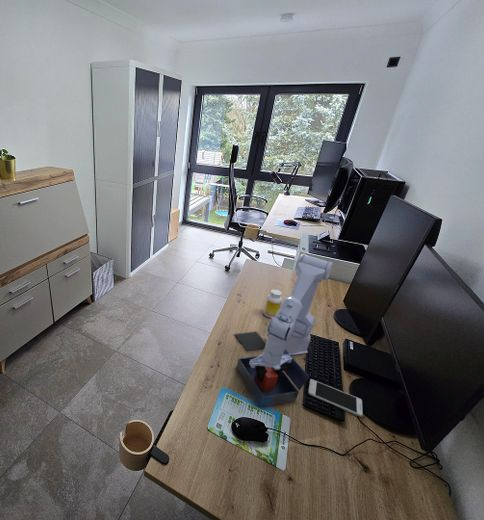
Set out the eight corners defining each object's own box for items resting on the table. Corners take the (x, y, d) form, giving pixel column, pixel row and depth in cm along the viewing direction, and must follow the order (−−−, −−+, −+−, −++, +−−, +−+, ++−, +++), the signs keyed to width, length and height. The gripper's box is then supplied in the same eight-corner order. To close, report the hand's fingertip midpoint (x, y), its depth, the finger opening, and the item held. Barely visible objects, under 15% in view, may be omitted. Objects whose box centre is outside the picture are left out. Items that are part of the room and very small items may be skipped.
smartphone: (309, 380, 105) (310, 378, 105) (360, 401, 98) (362, 399, 97) (307, 394, 100) (308, 392, 99) (361, 417, 92) (362, 415, 92)
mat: (255, 332, 128) (256, 331, 128) (268, 348, 119) (268, 347, 119) (234, 335, 126) (235, 334, 126) (246, 351, 118) (246, 350, 117)
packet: (264, 376, 106) (268, 362, 103) (273, 390, 101) (278, 376, 98) (254, 378, 106) (258, 364, 102) (263, 391, 100) (267, 377, 97)
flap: (269, 353, 109) (270, 353, 109) (299, 390, 94) (299, 390, 94) (277, 340, 106) (278, 340, 107) (308, 376, 92) (309, 376, 92)
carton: (266, 364, 112) (269, 354, 109) (294, 402, 97) (298, 391, 95) (236, 368, 110) (238, 358, 107) (259, 408, 95) (263, 397, 93)
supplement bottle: (279, 319, 136) (285, 297, 131) (264, 317, 138) (270, 295, 132) (275, 311, 142) (282, 289, 136) (261, 309, 143) (267, 287, 138)
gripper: (260, 361, 91) (252, 390, 97) (301, 355, 93) (291, 384, 99) (249, 345, 97) (242, 374, 103) (288, 340, 99) (278, 368, 106)
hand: (265, 378), depth 102 cm, fingers open, 4 cm apart
